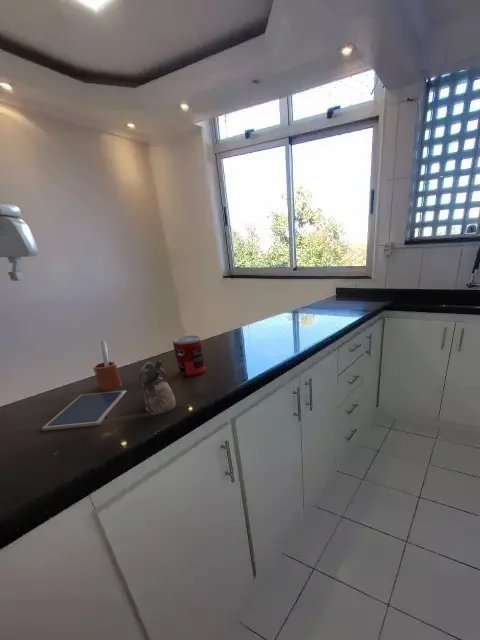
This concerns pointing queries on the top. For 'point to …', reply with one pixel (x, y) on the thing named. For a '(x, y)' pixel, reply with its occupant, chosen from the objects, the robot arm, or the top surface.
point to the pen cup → (107, 376)
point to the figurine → (156, 389)
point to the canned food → (189, 355)
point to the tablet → (85, 411)
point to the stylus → (105, 353)
